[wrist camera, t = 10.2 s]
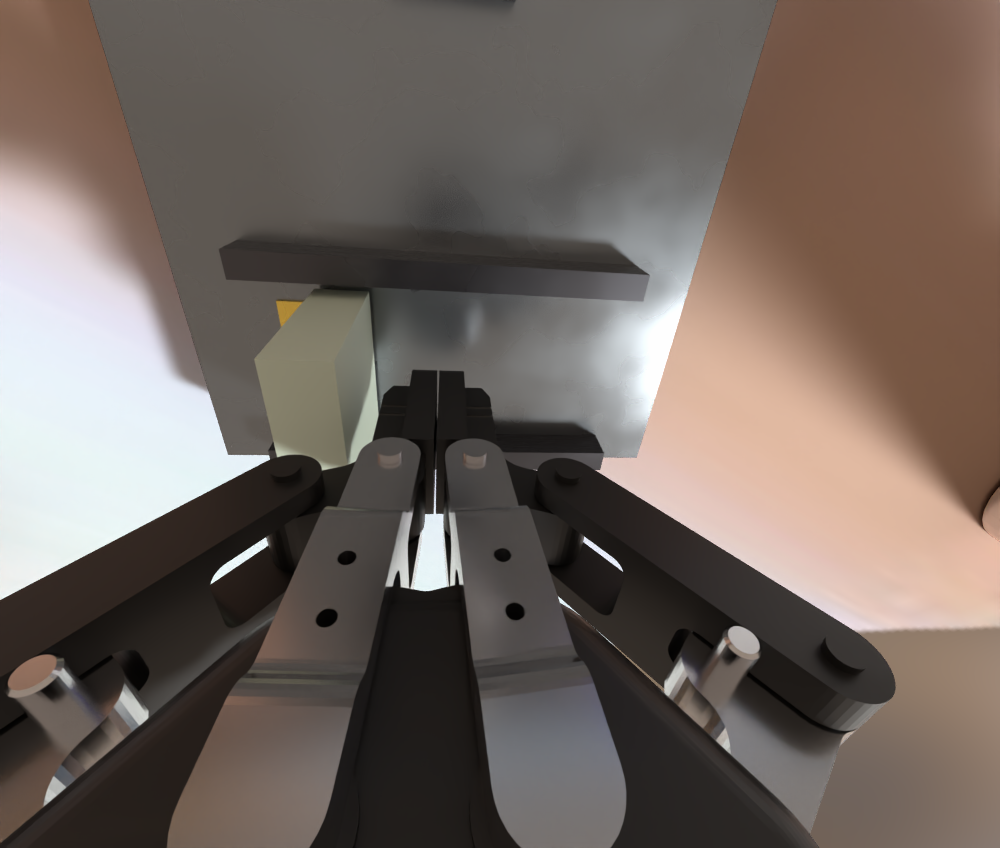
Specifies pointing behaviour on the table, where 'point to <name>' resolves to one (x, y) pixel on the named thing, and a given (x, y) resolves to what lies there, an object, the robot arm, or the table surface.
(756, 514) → the table surface
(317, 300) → the pale green eraser block
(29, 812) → the robot arm
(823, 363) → the table surface
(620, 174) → the panel
